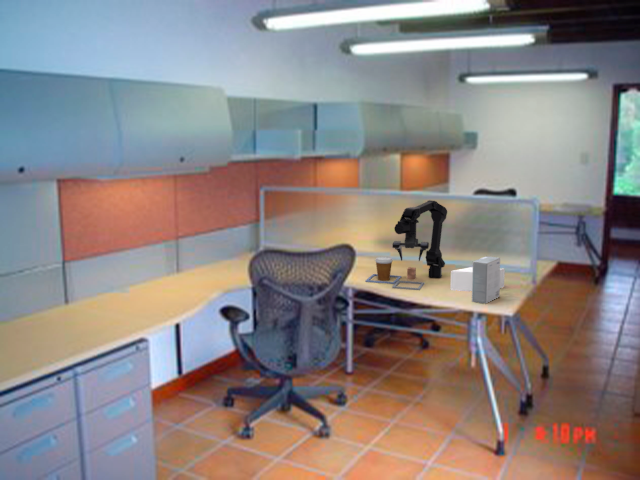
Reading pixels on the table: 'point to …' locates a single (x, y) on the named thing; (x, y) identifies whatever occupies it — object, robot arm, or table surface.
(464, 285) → the white box
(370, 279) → the frame cup
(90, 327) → the table surface
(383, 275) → the disposable coffee cup
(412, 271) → the block
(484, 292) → the hard drive box
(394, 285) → the frame empty
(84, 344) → the table surface
